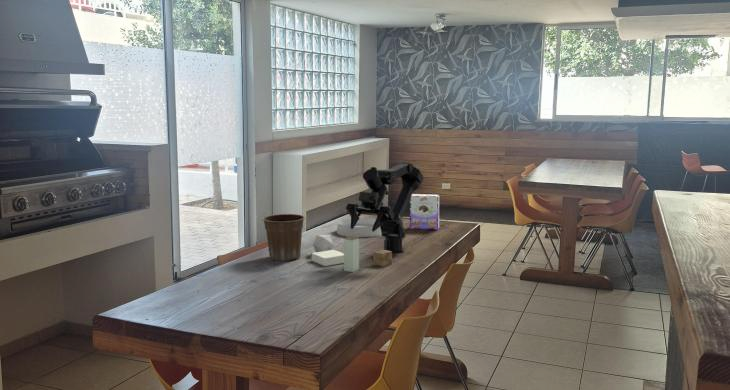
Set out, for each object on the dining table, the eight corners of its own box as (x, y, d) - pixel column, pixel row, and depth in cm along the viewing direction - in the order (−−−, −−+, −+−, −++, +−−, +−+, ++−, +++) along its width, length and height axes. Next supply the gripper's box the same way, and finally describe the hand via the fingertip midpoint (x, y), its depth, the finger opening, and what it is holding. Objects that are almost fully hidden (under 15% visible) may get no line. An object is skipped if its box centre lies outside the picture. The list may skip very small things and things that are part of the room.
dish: (355, 226, 321) (355, 216, 320) (393, 231, 308) (393, 221, 307) (327, 234, 303) (327, 223, 302) (365, 240, 290) (365, 229, 289)
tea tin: (349, 268, 241) (349, 236, 239) (359, 269, 239) (359, 237, 237) (344, 270, 237) (343, 238, 236) (353, 271, 235) (353, 239, 234)
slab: (333, 257, 257) (333, 249, 257) (347, 262, 249) (347, 254, 249) (311, 260, 252) (311, 253, 251) (324, 266, 244) (324, 258, 243)
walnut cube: (381, 262, 250) (381, 249, 249) (391, 264, 247) (391, 251, 246) (373, 264, 246) (373, 251, 246) (383, 266, 243) (383, 253, 242)
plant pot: (264, 263, 247) (263, 222, 245) (262, 254, 263) (261, 214, 261) (307, 261, 251) (306, 220, 248) (302, 252, 266) (302, 213, 264)
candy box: (439, 227, 316) (440, 194, 313) (438, 230, 310) (438, 196, 308) (411, 226, 319) (411, 193, 316) (409, 228, 313) (409, 195, 311)
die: (325, 259, 256) (338, 238, 258) (307, 248, 257) (320, 227, 259) (326, 262, 264) (339, 241, 266) (308, 251, 265) (321, 231, 267)
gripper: (348, 182, 250) (332, 214, 242) (391, 185, 241) (376, 219, 233) (358, 199, 258) (343, 231, 250) (400, 203, 249) (386, 237, 241)
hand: (361, 229), depth 243 cm, fingers open, 9 cm apart
